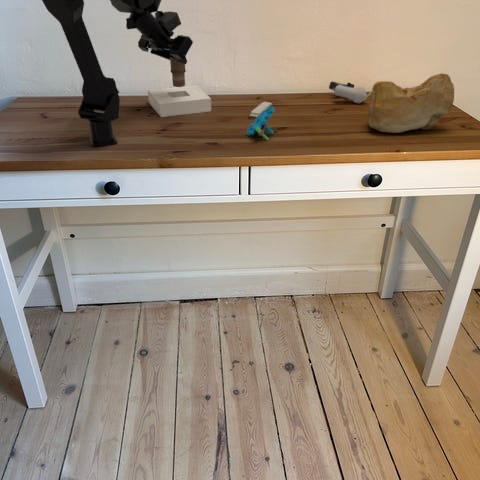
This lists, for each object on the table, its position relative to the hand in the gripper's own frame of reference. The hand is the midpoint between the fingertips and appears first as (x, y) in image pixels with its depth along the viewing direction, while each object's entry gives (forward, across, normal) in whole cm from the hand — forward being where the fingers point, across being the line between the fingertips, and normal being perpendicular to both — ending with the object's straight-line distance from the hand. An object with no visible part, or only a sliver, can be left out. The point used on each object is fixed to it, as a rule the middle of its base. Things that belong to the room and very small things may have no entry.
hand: (180, 61), depth 142 cm
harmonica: (+19, -22, +2) cm, 29 cm away
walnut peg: (+4, 0, +6) cm, 7 cm away
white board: (+9, 0, +11) cm, 14 cm away
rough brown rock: (+31, -60, -11) cm, 68 cm away
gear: (+7, -35, +12) cm, 38 cm away
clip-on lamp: (+41, -38, -22) cm, 60 cm away
